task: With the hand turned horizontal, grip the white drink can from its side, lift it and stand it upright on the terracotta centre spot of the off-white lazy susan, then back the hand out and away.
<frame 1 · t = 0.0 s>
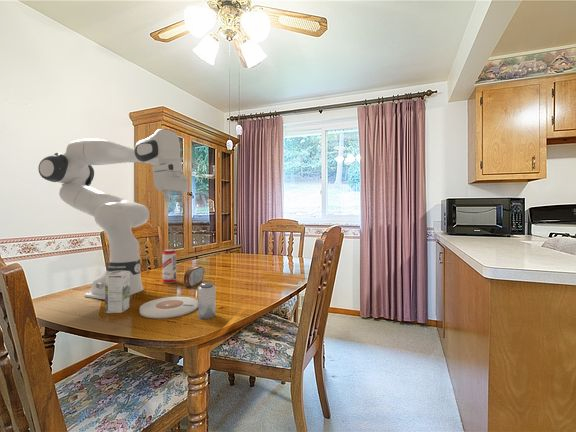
hand: (174, 202, 123), 39 cm above the table, tool pointing down, fingers open, 8 cm apart
white drink can: (206, 320, 98), on the table
syrup box: (118, 314, 104), on the table
tin: (194, 285, 143), on the table
beer can: (169, 282, 148), on the table
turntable: (169, 306, 105), point 2 cm above the table, hinge at 0.0°
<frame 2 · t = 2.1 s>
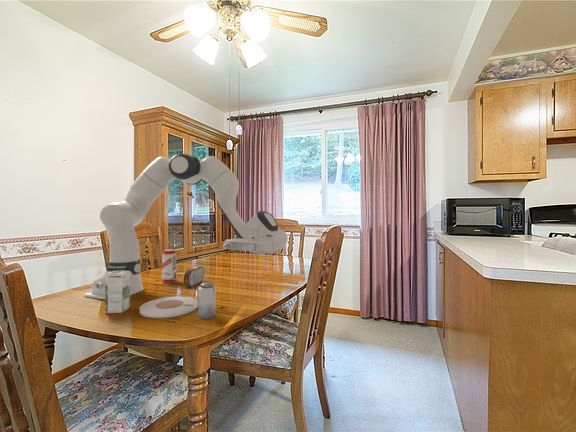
hand: (233, 247, 107), 22 cm above the table, tool horizontal, fingers open, 8 cm apart
nothing on the table moved.
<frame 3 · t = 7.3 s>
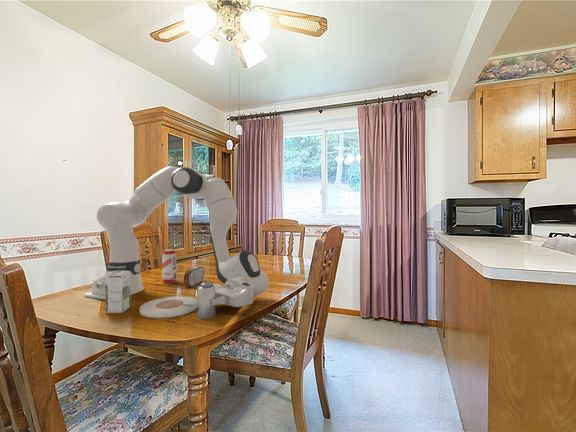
hand: (204, 300, 97), 7 cm above the table, tool horizontal, fingers closed on white drink can, 5 cm apart
white drink can: (206, 319, 98), on the table, touching gripper
everything else where it was.
when the fingers open (11 cm above the table, at t = 15.8 s): white drink can drops 1 cm, resting on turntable.
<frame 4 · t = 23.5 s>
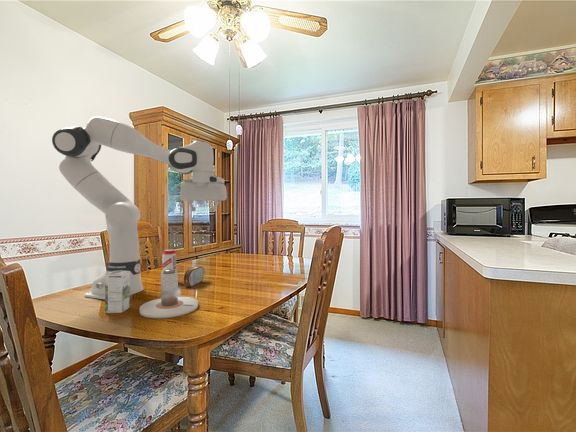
hand: (203, 211, 130), 35 cm above the table, tool pointing down, fingers open, 8 cm apart
white drink can: (169, 303, 105), point 3 cm above the table, touching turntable
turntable: (169, 306, 105), point 2 cm above the table, hinge at 0.0°, touching white drink can
everything else where it was.
at the end: white drink can 0.1 cm off-centre on the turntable, point 1.6 cm above the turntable's base; white drink can tilted 0°; the gripper is holding nothing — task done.
